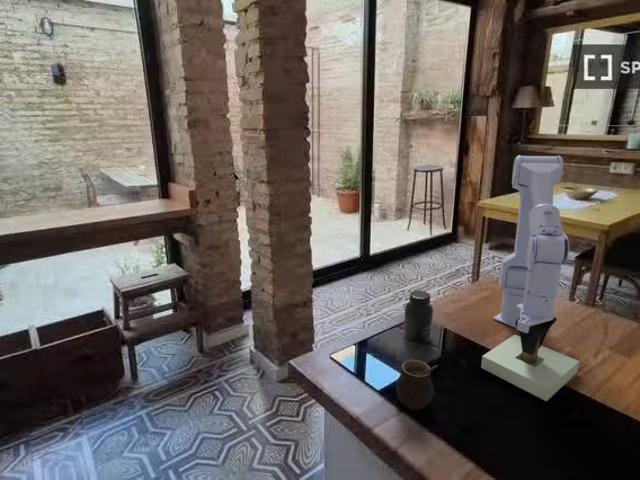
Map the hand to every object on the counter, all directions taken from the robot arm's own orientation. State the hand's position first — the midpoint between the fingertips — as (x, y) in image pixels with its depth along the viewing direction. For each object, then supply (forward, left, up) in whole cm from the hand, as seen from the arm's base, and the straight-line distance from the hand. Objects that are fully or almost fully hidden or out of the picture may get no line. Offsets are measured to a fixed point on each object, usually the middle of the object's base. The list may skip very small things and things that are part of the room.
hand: (531, 349), depth 86 cm
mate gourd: (+27, -9, -6) cm, 29 cm away
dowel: (0, 0, -3) cm, 3 cm away
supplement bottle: (+8, -24, -6) cm, 26 cm away
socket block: (0, 0, -5) cm, 5 cm away
